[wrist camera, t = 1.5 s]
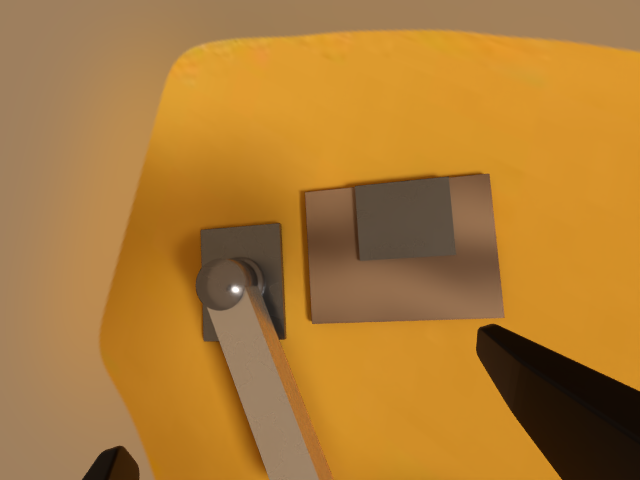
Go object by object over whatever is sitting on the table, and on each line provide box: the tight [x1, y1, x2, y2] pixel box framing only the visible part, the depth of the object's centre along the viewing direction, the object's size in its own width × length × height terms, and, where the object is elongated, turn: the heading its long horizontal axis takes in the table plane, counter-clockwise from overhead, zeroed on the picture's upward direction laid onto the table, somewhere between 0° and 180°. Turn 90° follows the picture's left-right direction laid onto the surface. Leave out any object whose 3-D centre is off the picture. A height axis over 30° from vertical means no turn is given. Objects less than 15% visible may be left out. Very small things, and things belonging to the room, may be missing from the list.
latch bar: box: [196, 259, 334, 480], centre depth 22 cm, size 16×3×2 cm, turn 24°
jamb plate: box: [201, 223, 286, 341], centre depth 25 cm, size 8×6×1 cm
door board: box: [305, 174, 504, 324], centre depth 24 cm, size 9×12×1 cm
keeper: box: [355, 177, 456, 261], centre depth 23 cm, size 5×6×1 cm
